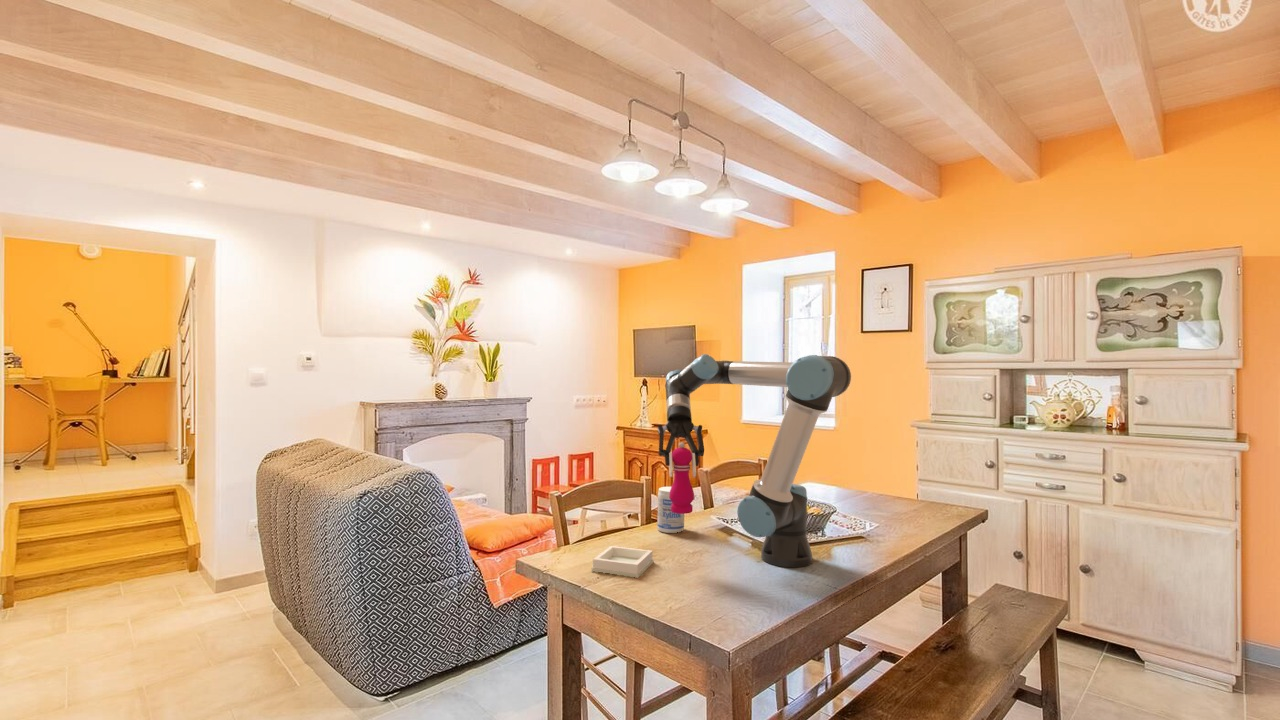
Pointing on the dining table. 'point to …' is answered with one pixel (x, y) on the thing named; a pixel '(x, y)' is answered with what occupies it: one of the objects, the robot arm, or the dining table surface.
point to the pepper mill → (681, 481)
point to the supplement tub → (668, 514)
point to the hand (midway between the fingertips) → (682, 474)
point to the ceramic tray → (623, 561)
